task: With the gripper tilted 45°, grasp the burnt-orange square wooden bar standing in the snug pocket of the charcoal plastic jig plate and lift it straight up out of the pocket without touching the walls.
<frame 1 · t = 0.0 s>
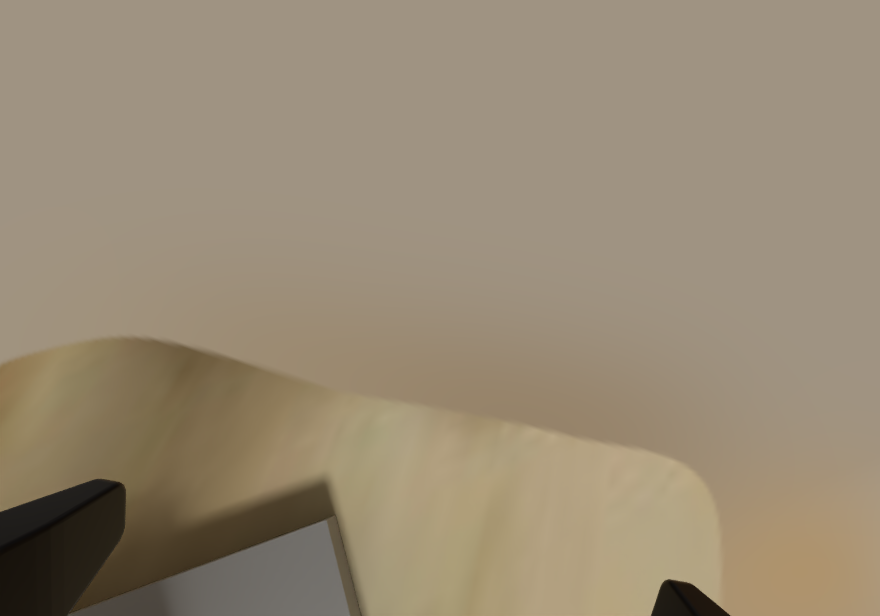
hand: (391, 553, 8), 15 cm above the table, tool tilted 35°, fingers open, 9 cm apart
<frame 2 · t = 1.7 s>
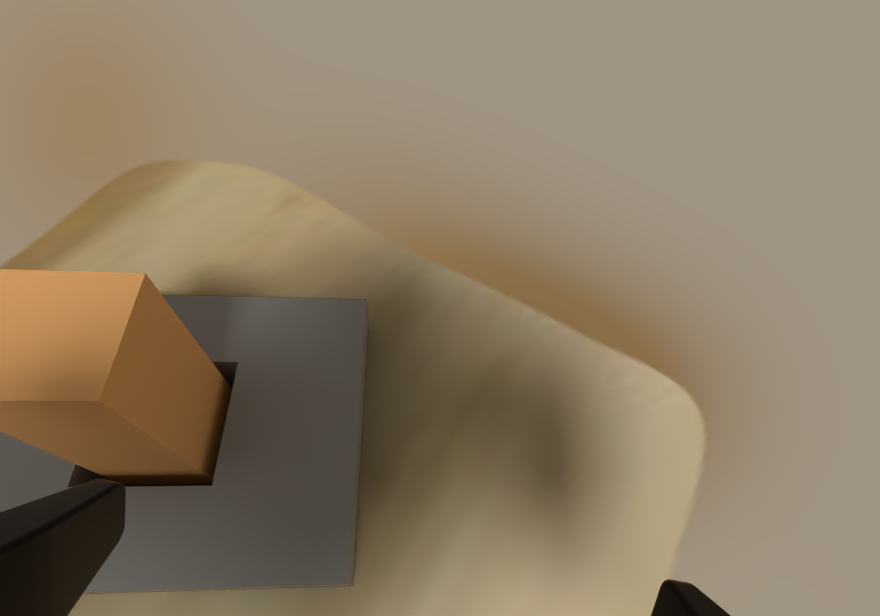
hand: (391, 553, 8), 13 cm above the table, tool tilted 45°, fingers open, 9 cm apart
orange bar: (182, 437, 22), resting in jig plate
jig plate: (182, 437, 21), on the table
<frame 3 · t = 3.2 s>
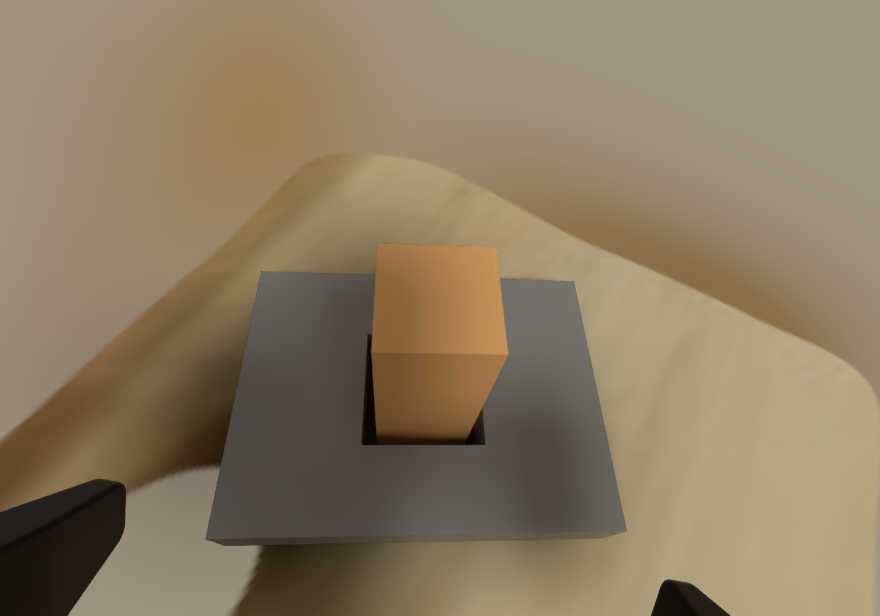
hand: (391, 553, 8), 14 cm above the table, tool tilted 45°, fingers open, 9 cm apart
orange bar: (420, 406, 23), resting in jig plate
jig plate: (420, 406, 23), on the table
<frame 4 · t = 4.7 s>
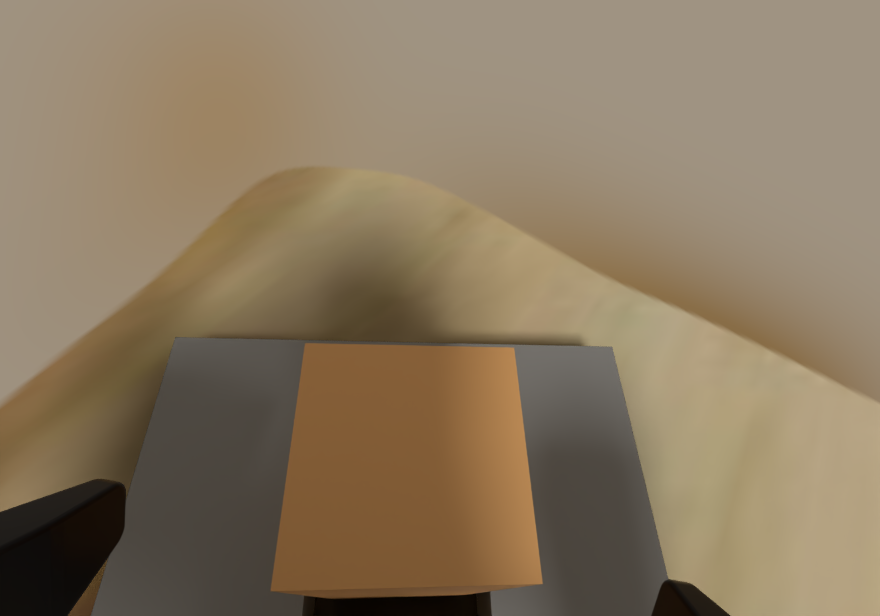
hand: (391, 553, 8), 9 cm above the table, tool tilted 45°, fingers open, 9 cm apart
orange bar: (398, 529, 17), resting in jig plate
jig plate: (398, 529, 16), on the table
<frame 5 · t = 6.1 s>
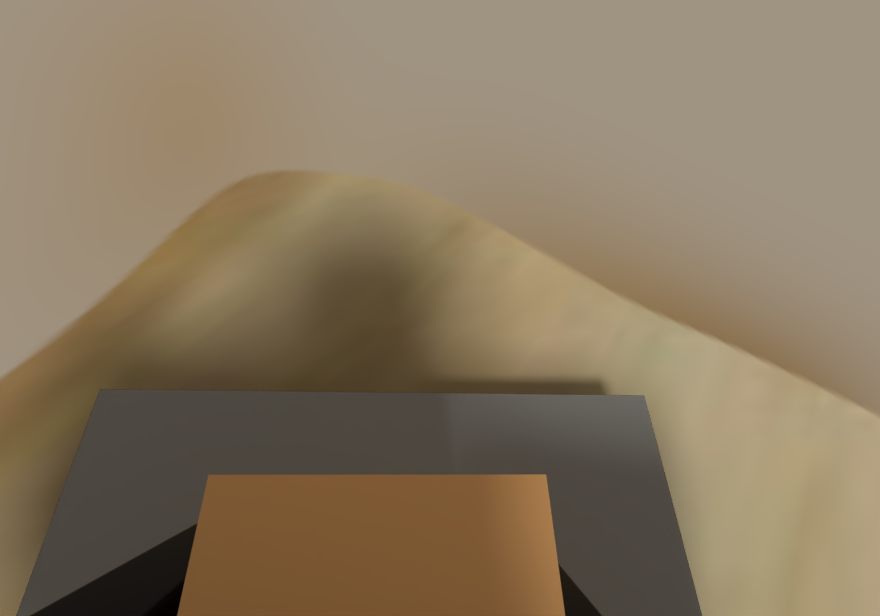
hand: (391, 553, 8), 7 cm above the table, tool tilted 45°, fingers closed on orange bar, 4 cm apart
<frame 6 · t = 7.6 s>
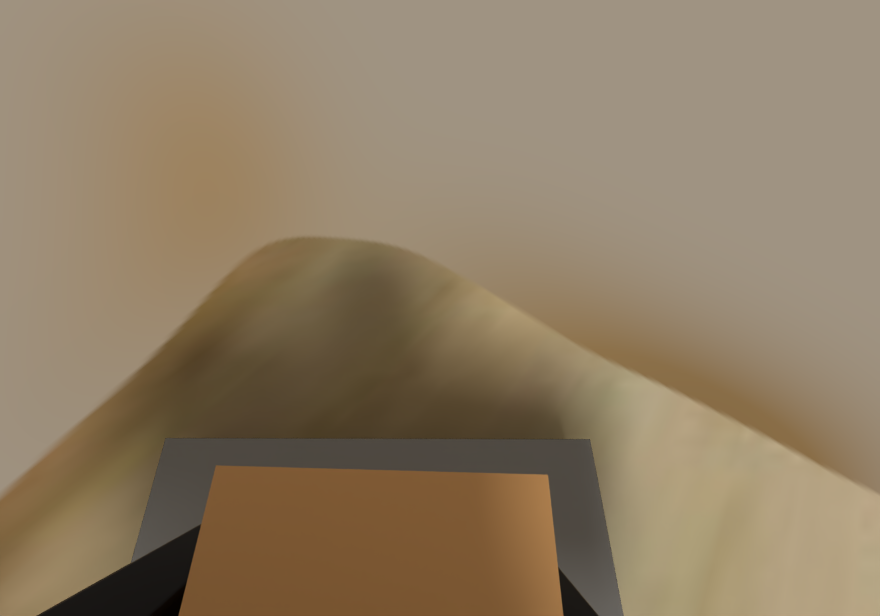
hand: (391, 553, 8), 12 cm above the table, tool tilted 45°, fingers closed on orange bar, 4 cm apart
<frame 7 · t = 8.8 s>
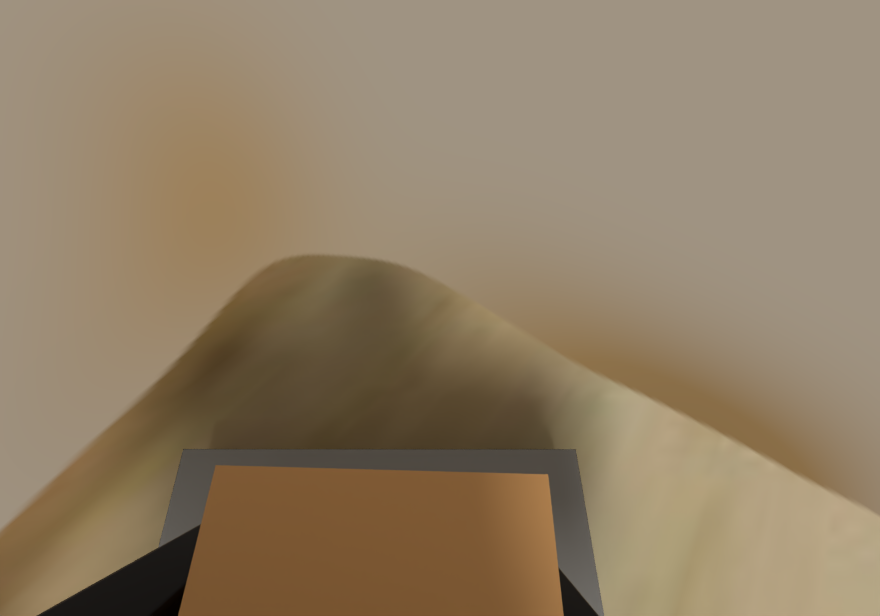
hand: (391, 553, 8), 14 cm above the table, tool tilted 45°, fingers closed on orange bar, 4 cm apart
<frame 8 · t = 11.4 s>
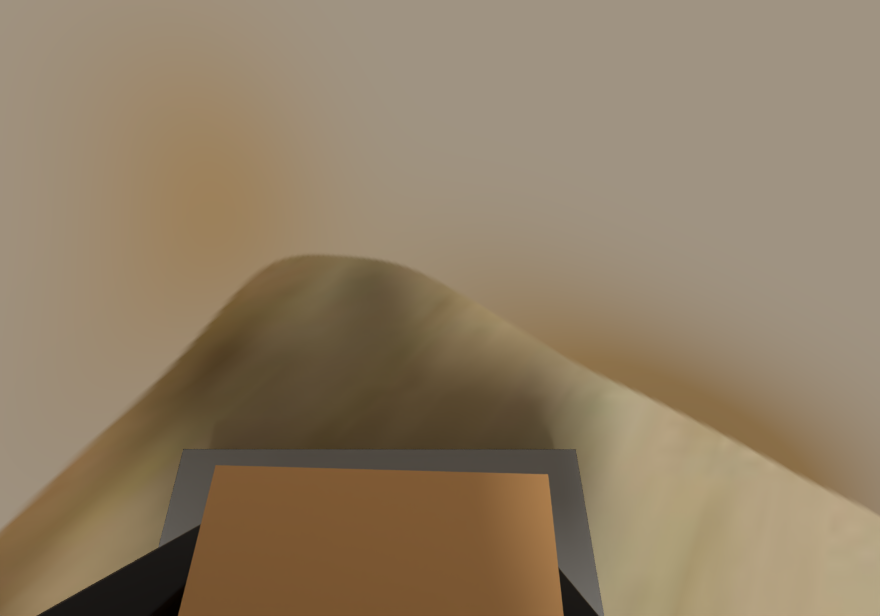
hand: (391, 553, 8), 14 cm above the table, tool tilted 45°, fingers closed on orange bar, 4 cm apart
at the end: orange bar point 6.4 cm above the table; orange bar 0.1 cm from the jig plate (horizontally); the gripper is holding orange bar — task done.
